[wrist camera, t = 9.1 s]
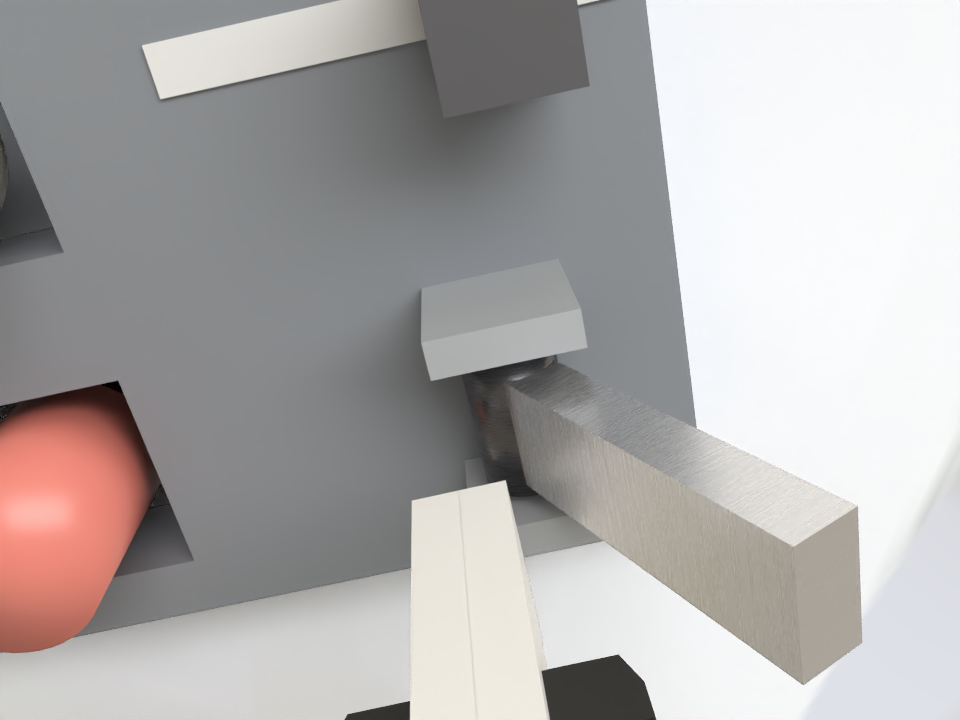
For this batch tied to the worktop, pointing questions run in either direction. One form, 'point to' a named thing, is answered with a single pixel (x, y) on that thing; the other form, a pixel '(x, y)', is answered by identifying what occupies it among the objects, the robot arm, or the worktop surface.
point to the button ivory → (3, 173)
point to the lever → (680, 508)
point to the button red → (66, 510)
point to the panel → (320, 269)
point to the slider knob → (502, 51)
